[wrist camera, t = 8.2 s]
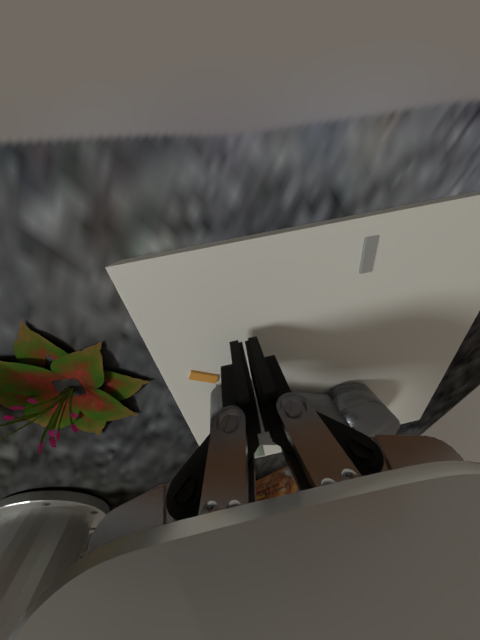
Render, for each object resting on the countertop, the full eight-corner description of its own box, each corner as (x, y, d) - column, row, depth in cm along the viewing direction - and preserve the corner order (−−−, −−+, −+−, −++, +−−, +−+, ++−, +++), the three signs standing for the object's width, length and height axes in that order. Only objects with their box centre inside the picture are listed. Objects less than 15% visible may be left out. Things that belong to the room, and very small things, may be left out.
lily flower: (111, 440, 19) (84, 498, 15) (-42, 397, 14) (-140, 464, 10) (177, 372, 16) (165, 422, 12) (8, 285, 11) (-107, 322, 7)
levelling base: (211, 448, 22) (210, 487, 19) (122, 259, 11) (85, 275, 8) (403, 404, 22) (434, 434, 19) (500, 186, 12) (606, 174, 8)
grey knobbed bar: (381, 385, 16) (430, 433, 13) (351, 420, 18) (385, 470, 15) (217, 366, 13) (219, 425, 9) (204, 412, 15) (202, 475, 11)
